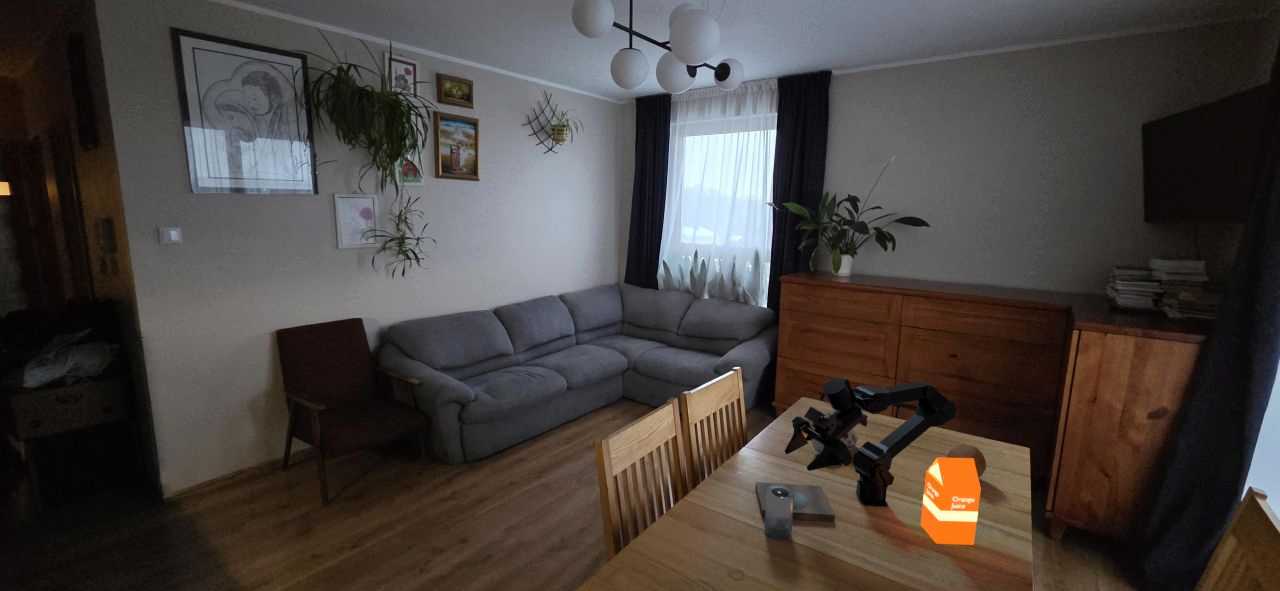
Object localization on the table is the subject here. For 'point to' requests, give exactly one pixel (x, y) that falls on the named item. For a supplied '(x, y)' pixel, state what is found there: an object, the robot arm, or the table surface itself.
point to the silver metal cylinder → (779, 513)
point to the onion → (969, 456)
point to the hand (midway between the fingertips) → (796, 460)
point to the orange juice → (951, 501)
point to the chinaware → (849, 441)
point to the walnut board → (801, 501)
